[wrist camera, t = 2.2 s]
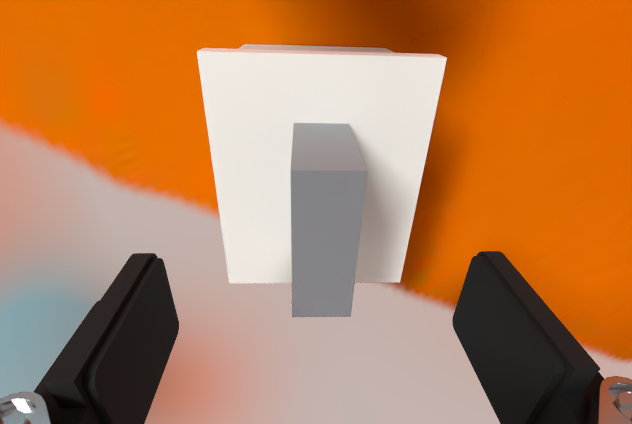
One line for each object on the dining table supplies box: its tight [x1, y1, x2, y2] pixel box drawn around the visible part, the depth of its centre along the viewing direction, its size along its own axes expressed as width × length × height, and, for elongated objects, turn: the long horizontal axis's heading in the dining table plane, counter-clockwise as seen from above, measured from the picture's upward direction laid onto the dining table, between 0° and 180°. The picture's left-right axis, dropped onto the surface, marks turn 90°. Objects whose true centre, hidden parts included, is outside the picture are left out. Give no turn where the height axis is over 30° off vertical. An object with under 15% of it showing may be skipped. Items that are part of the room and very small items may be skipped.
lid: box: [197, 48, 447, 317], centre depth 14 cm, size 11×9×6 cm
